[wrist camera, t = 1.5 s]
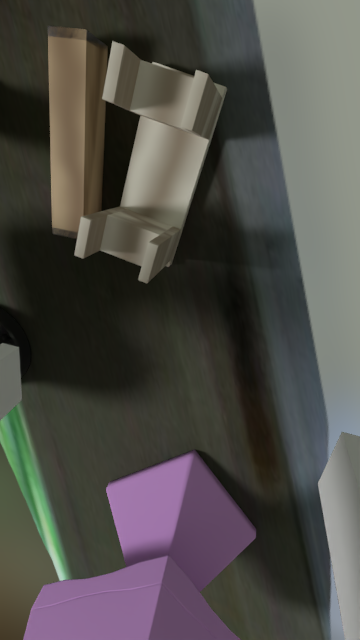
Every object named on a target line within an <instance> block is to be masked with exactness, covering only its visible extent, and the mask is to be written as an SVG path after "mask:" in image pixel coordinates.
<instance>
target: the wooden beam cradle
mask: <svg viewBox="0 0 360 640" xmlns="http://www.w3.org/2000/svg"><path fill="white" fill-rule="evenodd" d="M226 92H227V88H226V87H225V86H222V85H219V84H216V83H213V81H212V80H211V78H210V76H209V74H207V73H204V72H201V71H198V70H196V72H195V76H193V75H190V74H187V73H184V72H181V71H178V70H175V69H172V68H170V67H167V66H164V65H161V64H158V63H155V62H153V63H149V62H146V61H143V60H140V59H139V58H138V57H137V56H136V55H135V54H134V53H132V52H131V51H130V50H129V49H128V48H127V47H126V46H125V45H122V44H119V43H116V42H113V41H112V47H111V52H110V58H109V64H108V69H107V75H106V80H105V86H104V92H103V97H102V99H103V100H106V101H108V102H110V103H112V104H115V105H117V106H119V107H122V108H124V109H126V110H129V111H131V112H133V113H136V114H138V115H140V120H139V124H138V129H137V133H136V138H135V142H134V146H133V151H132V155H131V160H130V164H129V169H128V173H127V177H126V182H125V186H124V191H123V195H122V199H121V204H120V207H116V208H112V209H108V210H104V211H101V212H97V213H93V214H89V215H85V216H81V220H80V226H79V231H78V237H77V242H76V248H75V254H74V255H75V256H77V257H80V258H83V259H84V258H86V257H88V256H90V255H92V254H94V253H96V252H98V251H103V252H106V253H108V254H111V255H113V256H116V257H119V258H121V259H124V260H126V261H129V262H131V263H134V264H137V265H139V266H142V267H141V271H140V274H139V278H138V280H139V281H142V282H144V283H148V282H149V281H150V280H151V279H152V278H153V277H154V276H155V275H156V274H157V273H158V272H159V271H160V270H161V269H162V268H163V267H164V266H167V267H170V265H171V264H172V262H173V259H174V255H175V252H176V249H177V246H178V243H179V240H180V237H181V233H182V230H183V227H184V224H185V221H186V218H187V215H188V211H189V208H190V205H191V202H192V199H193V196H194V193H195V189H196V186H197V183H198V180H199V177H200V174H201V171H202V167H203V164H204V161H205V158H206V155H207V152H208V149H209V145H210V142H211V139H212V136H213V133H214V130H215V127H216V123H217V120H218V117H219V114H220V111H221V108H222V105H223V101H224V98H225V95H226Z"/></svg>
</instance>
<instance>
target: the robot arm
mask: <svg viewBox="0 0 360 640" xmlns="http://www.w3.org/2000/svg"><path fill="white" fill-rule="evenodd" d="M30 360H31V351H30V346H29V343H28V340H27V337H26V335H25V333H24V332H23V330H22V328H21V327H20V326H19V324H18V323H17V322H16V321H15V320H14V319H13V318H12V317H11V316H10V315H9V314H8V313H7V312H5V311H4V310H2V309H1V308H0V420H1V419H2V418H3V417H4V416H5V415H6V414H7V413H8V412H10V411H11V410H12V409H13V408H14V407H15V406H16V405H17V404H18V403H19V402H20V401H21V400H22V391H21V377H22V376H23V375H24V374H25V373H26V371H27V370H28V368H29V365H30ZM318 487H319V493H320V499H321V505H322V510H323V516H324V522H325V528H326V533H327V539H328V545H329V550H330V556H331V562H332V568H333V573H334V579H335V585H336V590H337V596H338V602H339V607H340V613H341V619H342V624H343V630H344V636H345V640H360V437H359V436H356V435H352V434H348V433H344V432H342V433H341V435H340V437H339V439H338V441H337V444H336V446H335V448H334V450H333V452H332V454H331V457H330V459H329V461H328V463H327V465H326V467H325V469H324V471H323V474H322V476H321V478H320V480H319V482H318Z"/></svg>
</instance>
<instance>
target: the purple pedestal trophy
mask: <svg viewBox="0 0 360 640" xmlns="http://www.w3.org/2000/svg"><path fill="white" fill-rule="evenodd" d="M106 491H107V495H108V499H109V502H110V506H111V510H112V514H113V517H114V521H115V525H116V529H117V533H118V536H119V540H120V544H121V548H122V551H123V555H124V559H125V563H126V567H125V568H123V569H120V570H118V571H115V572H112V573H109V574H105V575H101V576H96V577H92V578H88V579H74V580H63V581H59V582H55V583H50V584H47V585H44V586H43V588H42V590H41V591H40V594H39V596H38V597H37V599H36V601H35V603H34V605H33V607H32V608H31V612H30V616H29V620H28V624H27V628H26V632H25V635H24V639H23V640H241V639H240V638H238V637H237V636H236V635H235V634H234V633H232V632H231V631H230V630H229V628H228V627H227V626H226V625H225V624H224V623H223V622H222V621H221V619H220V618H219V617H218V616H217V615H216V614H215V613H214V611H213V610H212V609H211V608H210V606H209V605H208V604H207V602H206V601H205V599H204V598H203V596H202V595H201V594H200V591H201V590H202V589H203V588H205V587H206V586H207V585H208V584H209V583H210V582H211V581H212V580H213V579H214V578H215V577H216V576H217V575H218V574H219V573H220V572H221V571H222V570H223V569H224V568H225V567H226V566H227V565H228V564H229V563H230V562H231V561H232V560H234V559H235V558H236V557H237V556H238V555H239V554H240V553H241V552H242V551H243V550H244V549H245V548H246V547H247V546H248V545H249V544H250V543H251V542H252V541H253V540H254V539H255V538H256V528H255V527H254V525H253V524H252V523H251V521H250V520H249V519H248V518H247V516H246V515H245V514H244V512H243V511H242V510H241V509H240V507H239V506H238V505H237V503H236V502H235V501H234V500H233V498H232V497H231V496H230V494H229V493H228V492H227V490H226V489H225V488H224V487H223V485H222V484H221V483H220V481H219V480H218V479H217V478H216V476H215V475H214V474H213V472H212V471H211V470H210V469H209V467H208V466H207V465H206V463H205V462H204V461H203V459H202V458H201V457H200V456H199V454H198V453H197V452H196V450H192V451H189V452H187V453H184V454H182V455H179V456H176V457H174V458H171V459H168V460H166V461H163V462H161V463H158V464H155V465H153V466H150V467H147V468H145V469H142V470H140V471H137V472H134V473H132V474H129V475H126V476H124V477H121V478H119V479H116V480H113V481H111V482H109V484H108V486H107V488H106Z"/></svg>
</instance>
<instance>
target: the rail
mask: <svg viewBox="0 0 360 640" xmlns="http://www.w3.org/2000/svg"><path fill="white" fill-rule="evenodd" d="M107 55H108V46H107V45H105V44H104V43H103V42H101V41H100V40H99V39H98V38H96V37H95V36H94V35H93V34H91V33H90V32H89V31H87V30H84V29H75V28H65V27H55V26H48V58H49V104H50V151H51V197H52V234H55V235H60V236H65V237H70V238H75V239H77V237H78V231H79V226H80V220H81V216H85V215H89V214H93V213H97V212H101V211H102V185H103V159H104V133H105V107H106V100H103V99H102V97H103V92H104V86H105V80H106V75H107Z"/></svg>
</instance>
